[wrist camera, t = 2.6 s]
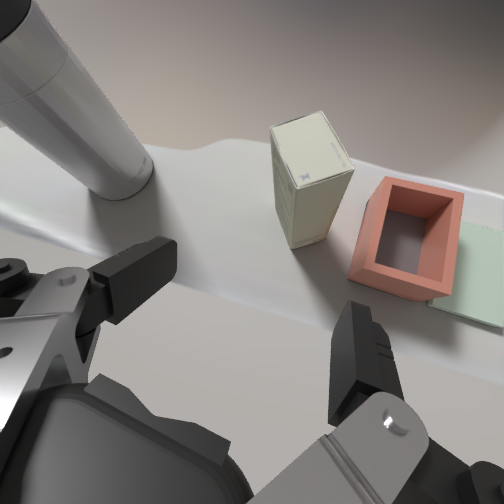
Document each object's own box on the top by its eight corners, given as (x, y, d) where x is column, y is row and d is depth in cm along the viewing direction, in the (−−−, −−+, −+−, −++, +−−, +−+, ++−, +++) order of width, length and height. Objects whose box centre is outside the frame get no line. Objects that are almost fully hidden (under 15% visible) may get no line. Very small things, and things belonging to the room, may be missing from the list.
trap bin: (346, 279, 25) (363, 268, 20) (367, 202, 28) (385, 175, 23) (416, 302, 23) (451, 295, 19) (430, 218, 26) (464, 193, 21)
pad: (427, 305, 23) (432, 304, 23) (440, 220, 26) (445, 217, 25) (495, 327, 22) (503, 327, 21) (502, 235, 25) (509, 232, 24)
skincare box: (325, 239, 27) (360, 172, 15) (289, 251, 27) (296, 192, 15) (306, 195, 29) (324, 107, 17) (272, 206, 29) (268, 124, 17)
